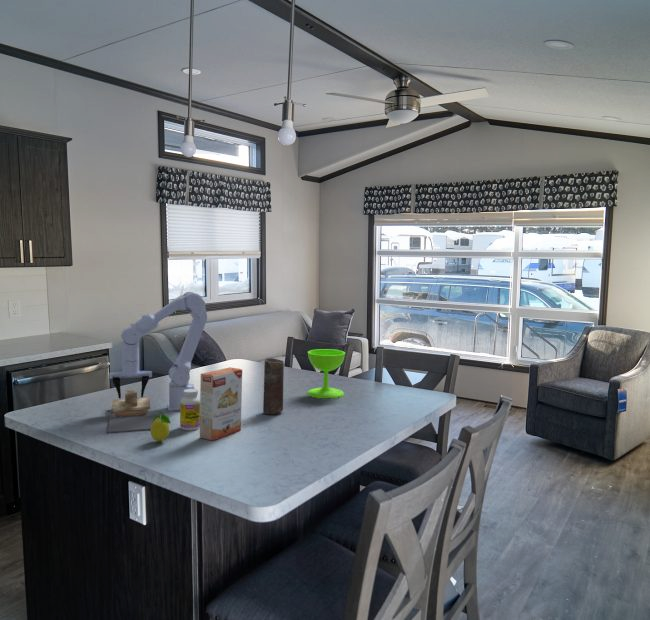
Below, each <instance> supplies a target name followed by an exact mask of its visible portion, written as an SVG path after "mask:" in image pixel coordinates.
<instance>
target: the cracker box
mask: <svg viewBox="0 0 650 620" xmlns="http://www.w3.org/2000/svg"><path fill="white" fill-rule="evenodd" d="M199 387H200V389H199V390H200V392H199V393H200V395H199V396H200V397H199V398H200V428H199V438H201V439H205V440H208V441H215V440H217V439H220V438H223V437H226V436H229V435H231V434H234V433H237V432H239V431H241V430H242V402H243V401H242V400H243V399H242V396H243V395H242V393H243V369H242V368H235V367H232V366H231V367H226V368H221V369H217V370H211V371H207V372H203V373H200V385H199Z"/></svg>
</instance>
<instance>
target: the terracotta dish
mask: <svg viewBox="0 0 650 620" xmlns="http://www.w3.org/2000/svg"><path fill="white" fill-rule="evenodd" d="M149 410H150V409H143V410H127V411H113V415H114V416H115V417H128V416H140V415H141V416H143V415H147V414H148V413H149Z"/></svg>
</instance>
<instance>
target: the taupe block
mask: <svg viewBox="0 0 650 620" xmlns="http://www.w3.org/2000/svg"><path fill="white" fill-rule="evenodd" d="M143 409H149V410H151V398H150V397H141V398H138V390H137V389H128V390H125V395H124V398H123V399H121V398H119V399H113V400H112V404H111V410H110V411H111V412H114V411H127V410H143Z"/></svg>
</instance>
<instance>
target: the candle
mask: <svg viewBox="0 0 650 620" xmlns="http://www.w3.org/2000/svg"><path fill="white" fill-rule="evenodd" d="M284 363H285V362H284V361H283V360H281V359H278V358H277V359H276V358H274V357H273V358H272V357H270V358H265V359H264V368H263V369H264V372H263V373H264V375H263V401H262V402H263V404H262V405H263V406H262V411H263V412H262V413H263V414H266V415H268V414H271V415H275V414H280V413H281V412H283V411H284V377H285V375H284V370H285V368H284V367H285V364H284Z"/></svg>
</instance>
